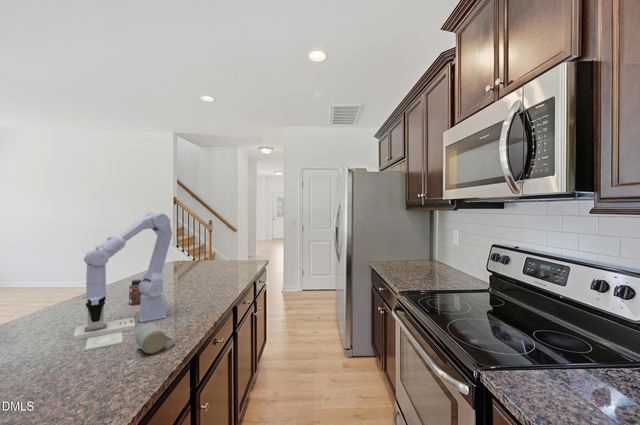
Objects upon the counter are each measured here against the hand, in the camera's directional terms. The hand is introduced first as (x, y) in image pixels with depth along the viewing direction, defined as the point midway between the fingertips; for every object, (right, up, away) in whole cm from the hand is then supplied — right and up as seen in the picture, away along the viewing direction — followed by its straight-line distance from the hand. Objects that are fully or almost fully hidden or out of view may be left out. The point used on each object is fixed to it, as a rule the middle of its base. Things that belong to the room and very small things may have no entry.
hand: (96, 319), depth 111 cm
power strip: (+2, -5, +2) cm, 5 cm away
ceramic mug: (+29, -5, -13) cm, 32 cm away
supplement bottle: (-6, -5, +34) cm, 35 cm away
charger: (0, -3, 0) cm, 3 cm away
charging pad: (+9, -5, -8) cm, 13 cm away
